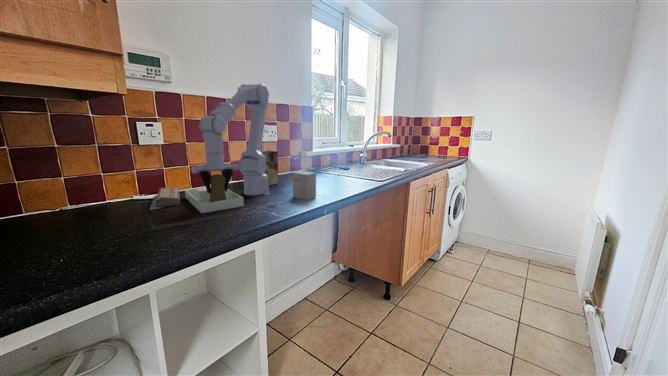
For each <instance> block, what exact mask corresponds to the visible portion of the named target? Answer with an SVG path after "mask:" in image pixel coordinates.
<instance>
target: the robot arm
mask: <svg viewBox="0 0 668 376" xmlns="http://www.w3.org/2000/svg"><path fill="white" fill-rule="evenodd" d="M269 97H270V93H269V91H268V88H267V86H266V85H265V84H264V83H260V84H257V83H256V84H244V83H243V84H241V85H240V86H238V88H237V91H236V93H235V94H234V95H233V96H232V97H231V98H230V99H229V101H228V102H226V101H224V102H220V103H219V104H218V106H217V107H216V108H215V109H214V110H211V111H210V114H209V115H204V116H203V117H201V118H200V121H199V123H198V128H199V131H201V132H202V138H203V141H204V142H203V143H204V153H205V164H204V165H197V166H191V173H192V174H198V175H199V176H200V178H201V180H202V181H203V184H204V187H206V190H207V193H211V187H210V186H211V184H210V176H211V174H210V173H211V172H221V175H223V176H224V177H225V183H224V188H225V191H227V189H229V183H230V181H231V178H232V176H233V175H234V171H238V170H239V171H240V173H241V174H242V175H243V192H244V193H243V195H246V196H260V195H265V196H270V195H271V194H270V192H269V191H270V189H269V183H268V177H267V175H266V174H265V173H264V172H265V170H266V161H265V160H266V157H265V156H264V155H263V154H262V152H261V151H262V145H263V144H262V143H263V137H264V129H265V122H266V115H267V108H268V105H269V104H268V103H269V99H270V98H269ZM244 104H245V105H246V106H247V107H248V108H249V109H251V111H252V112H251V117H250V118H251V119H250V126H249V131H248V132H249V134H248V141H247V145H246V146H247V148H246V149H245V150H244V151H243V152H242V153H241V155H240V159H239V161H238V163H225V153H224V152H225V151H224V150H225V149H224V140H223V139H224V137H223V136H224V134H223V133H225V132H226V130H227V125H229V122H230V121H232V119H233V118H234V117H235V116H237V115H236V114H237V112H236V110H238V108H240V107H241V106H243V105H244ZM256 158H257V159H256ZM209 172H210V173H209Z"/></svg>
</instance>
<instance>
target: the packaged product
mask: <svg viewBox="0 0 668 376" xmlns="http://www.w3.org/2000/svg"><path fill="white" fill-rule="evenodd" d="M180 196H181V195H180V189H179V188H178V187H174V186H173V187H161V188H159V190H158V193H157V195H154V196H153V199H152V202H151V204H150V208H149V210H156V209H157V210H158V209H161V208H164V207H165V208H166V207H172V206H173V207H174V206H178V205H180V204H181V197H180Z"/></svg>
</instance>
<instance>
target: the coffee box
mask: <svg viewBox="0 0 668 376" xmlns="http://www.w3.org/2000/svg"><path fill="white" fill-rule="evenodd" d="M261 152H262V154H263V155H264V156H265V157H266V160H265V161H266V170H265V172H264V173H265V174H266V175H267V177H268V183H269V186H270V187H271V186H274V185H277V184H279V162H278V161H279V158H278V151H277V150H276V151H274V150H261ZM256 159H257V158H256Z"/></svg>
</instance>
